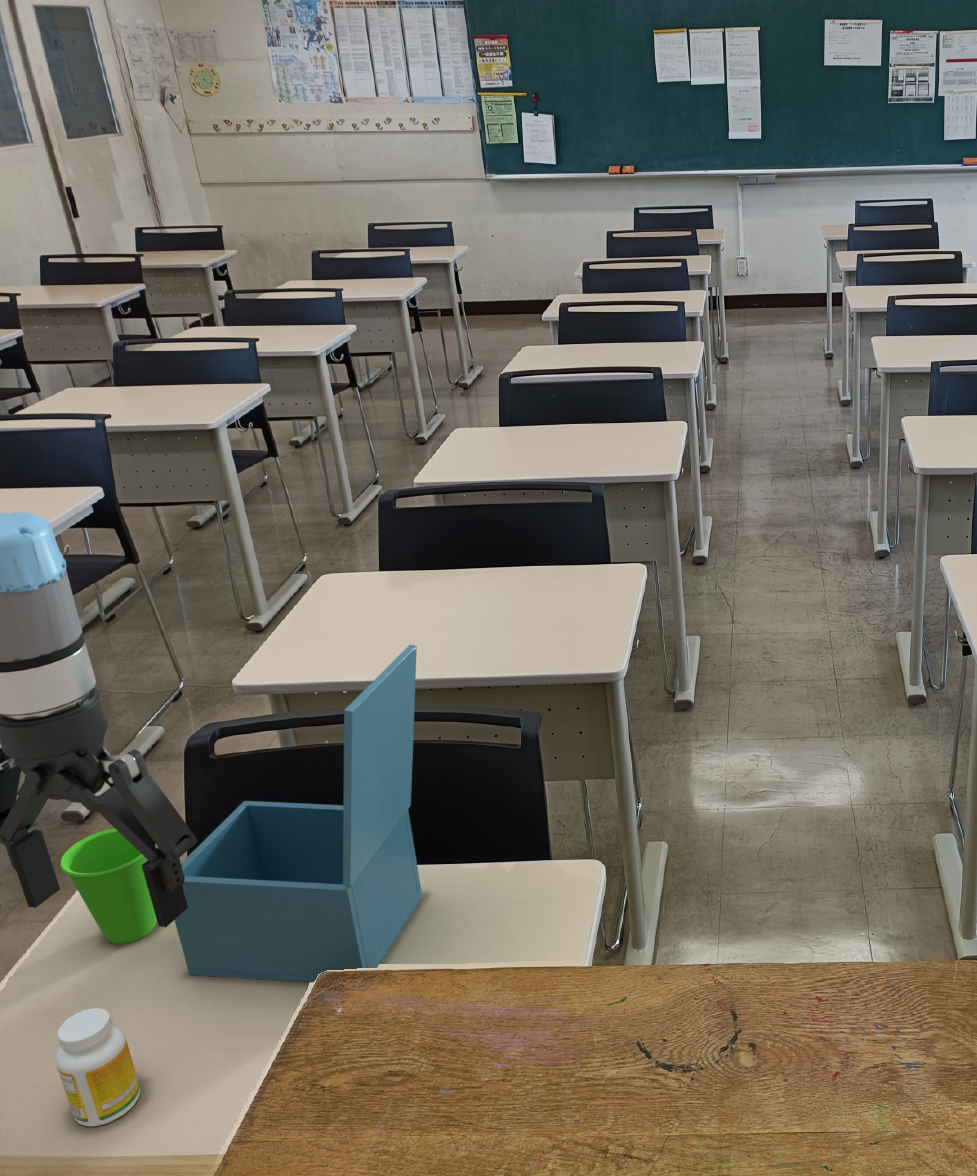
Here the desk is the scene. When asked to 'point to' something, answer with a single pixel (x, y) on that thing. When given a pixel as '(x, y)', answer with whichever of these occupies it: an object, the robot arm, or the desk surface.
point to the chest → (292, 895)
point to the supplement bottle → (96, 1068)
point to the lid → (377, 762)
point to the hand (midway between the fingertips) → (108, 907)
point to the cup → (112, 885)
